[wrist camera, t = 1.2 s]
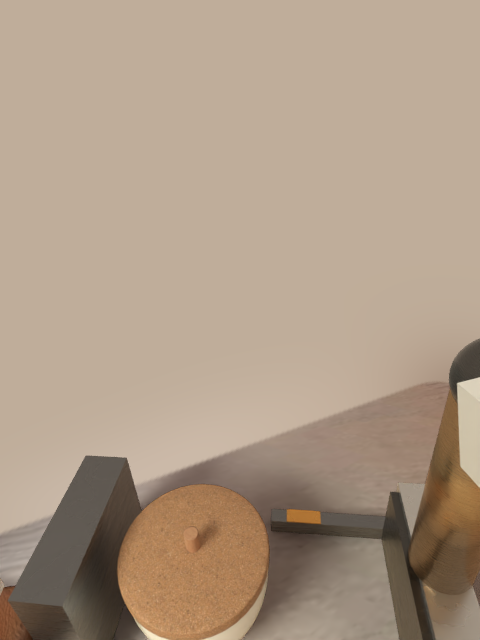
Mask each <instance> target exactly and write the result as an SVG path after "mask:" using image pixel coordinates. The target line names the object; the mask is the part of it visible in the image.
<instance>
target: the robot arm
mask: <svg viewBox="0 0 480 640" xmlns="http://www.w3.org/2000/svg"><path fill="white" fill-rule="evenodd" d="M457 396H458V422H459V447H460V467H461V468H462V469H463V470H464V471H465V472H466V473H467V474H468V476H469V477H470V478H471V479H472V480H473V481H474V482H475V483H476V484H477V486H478V487H479V488H480V377H479V378H475V379H471V380H467V381H463V382H459V383H457ZM4 586H5V585H4V584H3V582H2V580H1V579H0V595H1V592H2V590H3V588H4Z"/></svg>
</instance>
